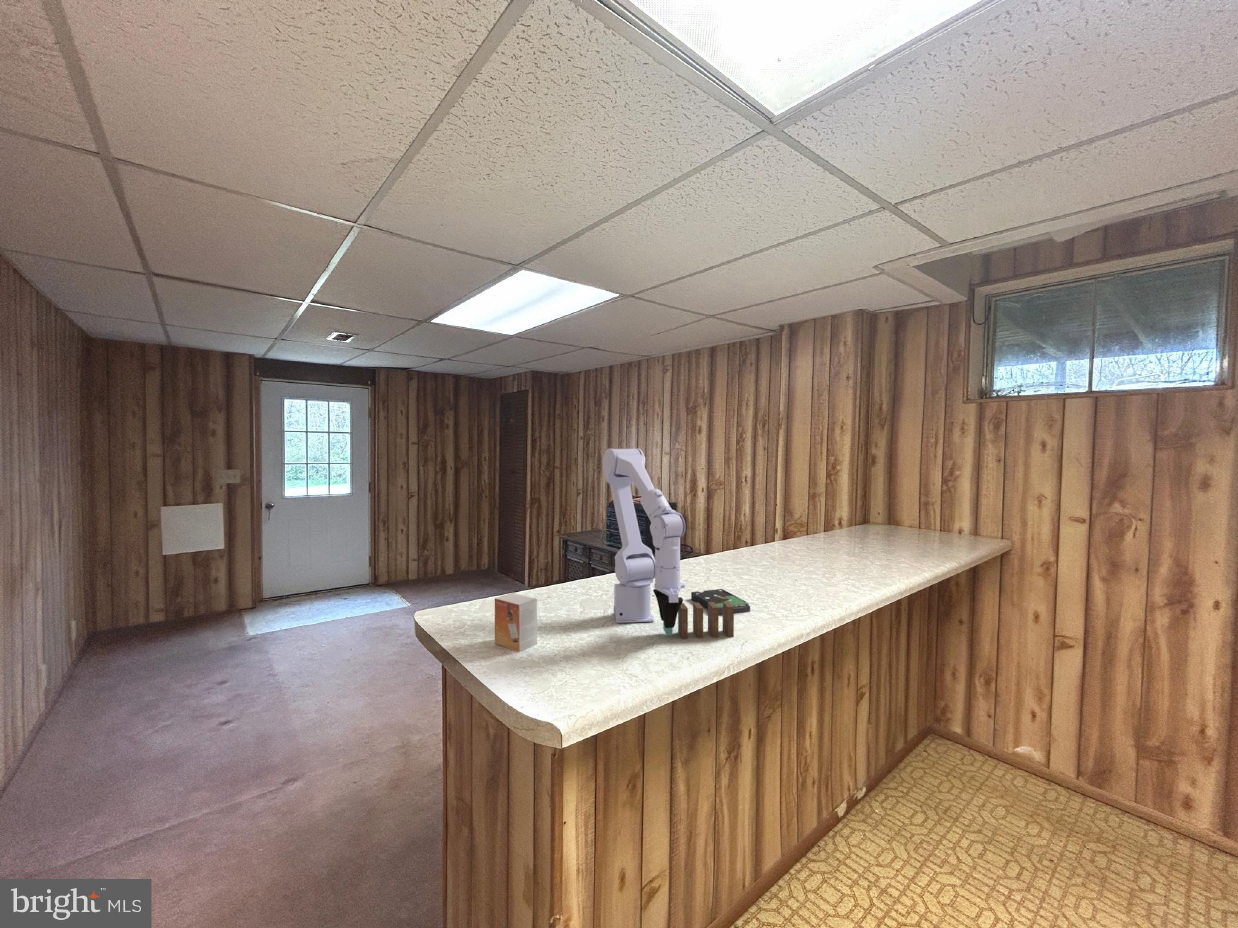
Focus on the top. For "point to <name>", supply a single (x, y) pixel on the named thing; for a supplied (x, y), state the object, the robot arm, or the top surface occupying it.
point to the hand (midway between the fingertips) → (667, 623)
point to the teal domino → (667, 630)
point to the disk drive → (720, 600)
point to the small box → (515, 621)
